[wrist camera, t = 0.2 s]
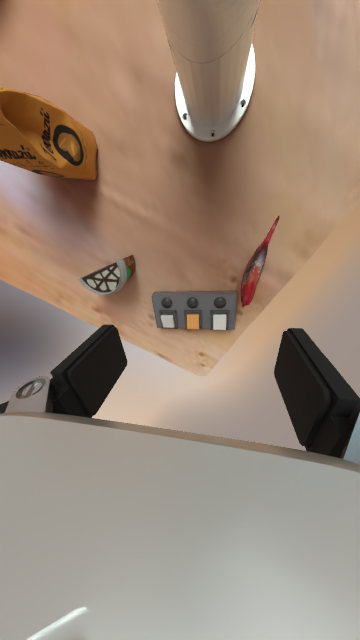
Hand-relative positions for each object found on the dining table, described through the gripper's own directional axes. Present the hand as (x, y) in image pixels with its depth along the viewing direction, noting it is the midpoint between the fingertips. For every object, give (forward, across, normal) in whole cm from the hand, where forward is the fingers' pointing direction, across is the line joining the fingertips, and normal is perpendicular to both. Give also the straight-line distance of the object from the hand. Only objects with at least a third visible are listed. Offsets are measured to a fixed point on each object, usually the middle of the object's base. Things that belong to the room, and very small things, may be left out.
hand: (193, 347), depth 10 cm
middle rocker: (+32, +5, +17) cm, 37 cm away
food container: (+36, +24, +3) cm, 44 cm away
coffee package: (+36, +29, -22) cm, 51 cm away
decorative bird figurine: (+36, -9, +2) cm, 38 cm away
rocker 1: (+32, +12, +16) cm, 38 cm away
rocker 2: (+32, -2, +17) cm, 37 cm away
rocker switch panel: (+36, +5, +14) cm, 39 cm away
